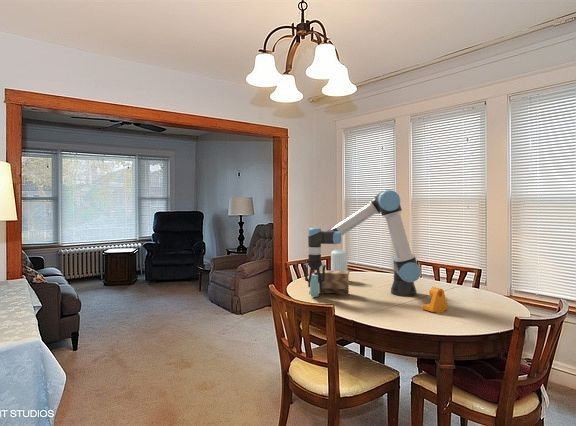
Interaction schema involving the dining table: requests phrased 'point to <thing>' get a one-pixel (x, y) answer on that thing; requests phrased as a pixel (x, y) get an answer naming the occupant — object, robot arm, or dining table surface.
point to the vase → (339, 260)
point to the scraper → (314, 285)
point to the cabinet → (335, 282)
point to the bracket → (436, 301)
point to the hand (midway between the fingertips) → (314, 292)
